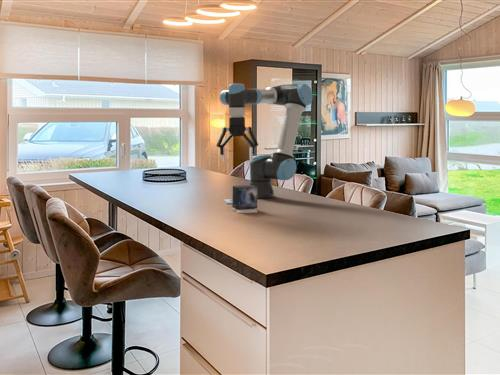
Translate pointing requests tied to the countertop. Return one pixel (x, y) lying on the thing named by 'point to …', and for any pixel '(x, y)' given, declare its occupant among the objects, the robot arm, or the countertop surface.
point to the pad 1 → (228, 201)
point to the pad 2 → (245, 210)
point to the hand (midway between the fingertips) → (237, 161)
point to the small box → (245, 197)
